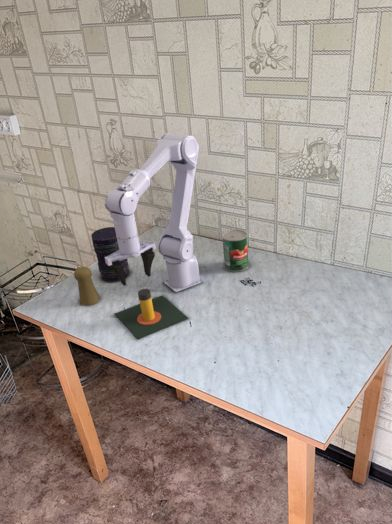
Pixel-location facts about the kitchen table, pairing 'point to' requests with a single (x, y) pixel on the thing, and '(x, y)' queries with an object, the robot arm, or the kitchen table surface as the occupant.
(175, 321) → the mat
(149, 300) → the glue stick
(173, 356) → the kitchen table surface
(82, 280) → the olive pawn
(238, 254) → the canned tomato
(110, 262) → the robot arm
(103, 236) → the storage jar
